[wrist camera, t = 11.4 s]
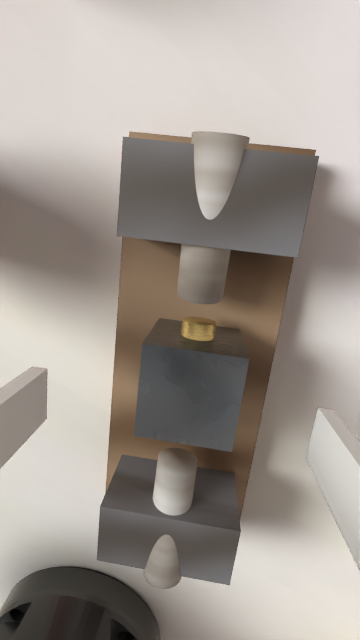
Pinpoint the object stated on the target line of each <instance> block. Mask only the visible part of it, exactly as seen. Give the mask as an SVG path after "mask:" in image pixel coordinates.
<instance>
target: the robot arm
mask: <svg viewBox="0 0 360 640" xmlns="http://www.w3.org/2000/svg"><path fill="white" fill-rule="evenodd" d="M46 419H47V369H46V368H39V367H31V368H29V369H28V370H27V371H25V372H24V373H22V374H21V375H19V376H18V377H16V378H15V379H14V380H12V381H11V382H9V383H8V384H6V385H5V386H3V387H2V388H0V469H1V467H2V466H3V465H4V464H5V463H6V462H7V461H8V460H9V459H10V458H11V457H12V456H13V454H14V453H15V452H16V451H17V450H18V449H19V448H20V447H21V446H22V445H23V444H24V443H25V441H26V440H27V439H28V438H29V437H30V436H31V435H32V434H33V433H34V432H35V431H36V430H37V429H38V427H39V426H40V425H41V424H42V423H43V422H44V421H45V420H46ZM306 460H307V462H308V464H309V466H310V468H311V470H312V472H313V474H314V477H315V479H316V481H317V483H318V485H319V487H320V489H321V491H322V493H323V495H324V497H325V500H326V502H327V504H328V506H329V508H330V510H331V512H332V514H333V516H334V518H335V520H336V523H337V525H338V527H339V529H340V531H341V533H342V535H343V537H344V539H345V541H346V543H347V546H348V548H349V550H350V552H351V554H352V556H353V558H354V560H355V562H356V564H357V566H358V569H359V571H360V441H359V440H358V439H357V437H356V436H355V435H354V434H353V432H352V431H351V430H350V429H349V427H348V426H347V425H346V424H345V422H344V421H343V420H342V419H341V417H340V416H339V415H338V414H337V412H336V411H335V410H331V409H324V408H318V410H317V414H316V418H315V422H314V426H313V430H312V434H311V438H310V442H309V447H308V451H307V455H306ZM0 640H160V635H159V629H158V626H157V623H156V620H155V618H154V616H153V614H152V612H151V611H150V609H149V608H148V607H147V605H146V604H145V603H144V602H143V601H142V600H141V598H140V597H139V596H137V595H136V594H135V593H134V592H133V591H132V590H130V589H129V588H128V587H126V586H125V585H123V584H121V583H120V582H118V581H116V580H114V579H112V578H110V577H108V576H106V575H103V574H100V573H97V572H94V571H90V570H86V569H81V568H73V567H57V568H49V569H44V570H41V571H37V572H35V573H32V574H30V575H28V576H27V577H25V578H24V579H22V580H21V581H20V582H19V583H17V585H16V586H15V587H14V588H13V589H12V591H11V593H10V594H9V596H8V598H7V599H6V601H5V603H4V605H3V607H2V608H1V610H0Z"/></svg>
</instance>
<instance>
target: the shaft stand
mask: <svg viewBox="0 0 360 640" xmlns="http://www.w3.org/2000/svg"><path fill="white" fill-rule="evenodd" d="M315 152H316V150H311V149H301V148H291V147H280V146H270V145H260V144H250V143H249V137H246V136H241V135H236V134H228V133H219V132H192V138H189V137H179V136H169V135H159V134H149V133H138V132H129V137H123V146H122V162H121V179H120V195H119V211H118V227H117V236H122V237H123V238H122V253H121V268H120V284H119V299H118V314H117V329H116V344H115V359H114V374H113V389H112V404H111V420H110V435H109V450H108V465H107V480H106V494H105V496H104V499H103V501H102V504H101V506H100V519H99V535H98V552H97V560H99V561H105V562H110V563H115V564H120V565H126V566H131V567H136V568H141V569H143V573H144V576H145V578H146V580H147V581H148V582H149V583H150V584H151V585H153V586H155V587H157V588H162V589H167V588H171V587H174V586H175V585H177V584H178V583H179V581H180V579H181V577H182V576H184V577H189V578H194V579H199V580H205V581H210V582H215V583H221V584H226V585H230V580H231V575H232V570H233V566H234V561H235V556H236V551H237V547H238V542H239V537H240V532H241V530H240V516H241V512H242V507H243V502H244V497H245V492H246V487H247V482H248V478H249V473H250V468H251V463H252V458H253V453H254V448H255V444H256V439H257V434H258V429H259V424H260V419H261V414H262V410H263V405H264V400H265V395H266V390H267V385H268V380H269V375H270V371H271V366H272V361H273V356H274V351H275V346H276V341H277V337H278V332H279V327H280V322H281V317H282V312H283V307H284V303H285V298H286V293H287V288H288V283H289V278H290V273H291V269H292V264H293V259H294V257H296V258H298V255H299V250H300V245H301V240H302V236H303V231H304V226H305V221H306V216H307V212H308V207H309V202H310V197H311V193H312V188H313V183H314V178H315V173H316V169H317V164H318V159H319V156H315ZM191 316H193V317H203V318H207V319H211V320H213V321H215V322H216V326H221V327H228V328H235V329H240V332H241V335H242V338H243V341H244V344H245V347H246V350H247V353H248V356H249V364H248V370H247V375H246V380H245V386H244V391H243V396H242V402H241V407H240V412H239V418H238V423H237V428H236V434H235V439H234V444H233V450H232V452H229V451H223V450H217V449H211V448H205V447H199V446H192V445H186V444H180V443H174V442H168V441H162V440H156V439H150V438H144V437H138V436H134V428H135V417H136V406H137V395H138V384H139V373H140V363H141V352H142V343H143V341H144V340H145V338H146V337H147V335H148V334H149V333H150V331H151V330H152V328H153V327H154V325H155V324H156V322H157V321H158V319H159V318H163V319H170V320H178V321H183V318H184V317H191Z"/></svg>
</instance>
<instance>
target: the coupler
mask: <svg viewBox="0 0 360 640" xmlns="http://www.w3.org/2000/svg"><path fill="white" fill-rule="evenodd" d="M248 364H249V356H248V353H247V350H246V347H245V344H244V341H243V338H242V335H241V332H240V329H235V328H228V327H221V326H216V322H215V321H213V320H211V319H207V318H203V317H193V316H191V317H184V318H183V321H178V320H170V319H163V318H159V319H158V321H157V322H156V324H155V325H154V327H153V328H152V330H151V331H150V333H149V334H148V335H147V337H146V338H145V340H144V341H143V343H142V352H141V363H140V373H139V384H138V395H137V406H136V417H135V428H134V436H138V437H144V438H150V439H156V440H162V441H168V442H174V443H180V444H186V445H192V446H199V447H205V448H211V449H217V450H223V451H229V452H232V450H233V444H234V439H235V434H236V428H237V423H238V418H239V412H240V407H241V402H242V396H243V391H244V386H245V380H246V375H247V370H248Z"/></svg>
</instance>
